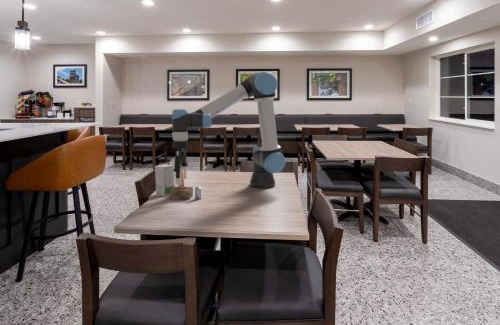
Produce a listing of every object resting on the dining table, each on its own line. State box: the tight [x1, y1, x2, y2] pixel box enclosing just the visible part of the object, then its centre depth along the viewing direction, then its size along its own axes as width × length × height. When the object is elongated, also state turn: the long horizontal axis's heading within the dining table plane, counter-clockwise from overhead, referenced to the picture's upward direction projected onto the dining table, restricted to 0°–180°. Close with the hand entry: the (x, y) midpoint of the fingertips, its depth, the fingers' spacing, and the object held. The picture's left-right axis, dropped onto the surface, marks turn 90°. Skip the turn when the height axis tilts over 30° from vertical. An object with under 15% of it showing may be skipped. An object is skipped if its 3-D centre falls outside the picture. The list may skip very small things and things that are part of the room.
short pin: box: [194, 186, 202, 201], centre depth 186 cm, size 3×3×6 cm
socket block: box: [169, 185, 194, 201], centre depth 189 cm, size 10×10×4 cm
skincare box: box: [154, 163, 176, 197], centre depth 194 cm, size 8×7×16 cm
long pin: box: [178, 170, 185, 190], centre depth 188 cm, size 3×3×14 cm
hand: (181, 181), depth 188 cm, fingers open, 13 cm apart
